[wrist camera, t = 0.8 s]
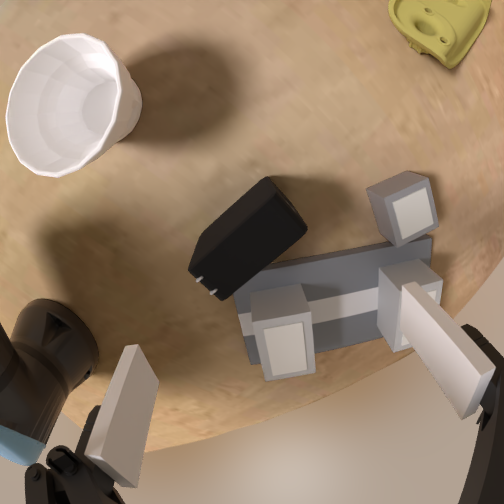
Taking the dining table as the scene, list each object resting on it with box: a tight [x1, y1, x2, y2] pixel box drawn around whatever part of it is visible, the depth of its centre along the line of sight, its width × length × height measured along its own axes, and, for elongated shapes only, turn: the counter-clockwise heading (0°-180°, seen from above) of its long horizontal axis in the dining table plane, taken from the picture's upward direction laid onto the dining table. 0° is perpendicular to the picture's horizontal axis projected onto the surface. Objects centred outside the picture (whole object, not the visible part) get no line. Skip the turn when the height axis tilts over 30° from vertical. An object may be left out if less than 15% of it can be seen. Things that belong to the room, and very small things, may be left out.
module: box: [366, 171, 439, 248], centre depth 31 cm, size 6×6×5 cm
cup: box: [6, 33, 142, 178], centre depth 23 cm, size 12×12×11 cm
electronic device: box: [188, 176, 308, 301], centre depth 29 cm, size 4×10×10 cm, turn 132°
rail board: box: [233, 234, 443, 382], centre depth 35 cm, size 26×14×8 cm, turn 100°
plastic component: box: [388, 0, 492, 69], centre depth 22 cm, size 20×7×10 cm
